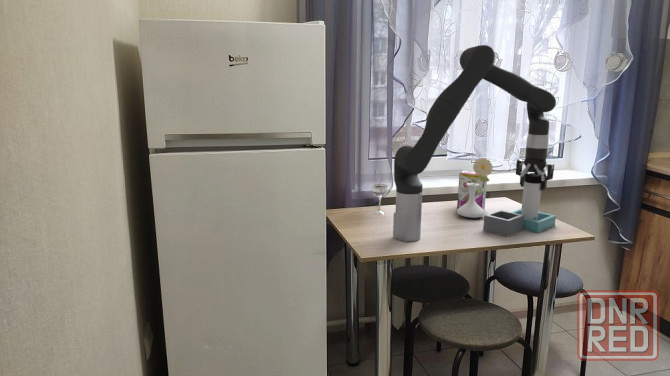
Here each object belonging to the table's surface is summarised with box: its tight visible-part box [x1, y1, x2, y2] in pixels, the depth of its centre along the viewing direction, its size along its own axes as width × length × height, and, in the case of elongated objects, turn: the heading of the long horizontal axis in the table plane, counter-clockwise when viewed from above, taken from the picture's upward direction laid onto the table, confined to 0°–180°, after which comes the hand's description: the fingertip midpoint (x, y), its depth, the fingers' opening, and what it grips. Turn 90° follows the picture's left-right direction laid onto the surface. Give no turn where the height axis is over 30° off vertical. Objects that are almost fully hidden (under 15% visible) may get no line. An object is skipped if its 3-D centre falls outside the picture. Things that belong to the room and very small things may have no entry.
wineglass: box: [371, 183, 389, 215], centre depth 199 cm, size 7×7×12 cm
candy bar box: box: [456, 170, 488, 211], centre depth 204 cm, size 11×5×16 cm, turn 58°
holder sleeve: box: [482, 209, 524, 237], centre depth 177 cm, size 11×10×6 cm
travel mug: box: [520, 172, 542, 221], centre depth 181 cm, size 6×7×20 cm
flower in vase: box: [456, 157, 494, 219], centre depth 192 cm, size 13×11×25 cm
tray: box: [511, 207, 557, 234], centre depth 184 cm, size 14×14×4 cm
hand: (532, 188), depth 181 cm, fingers open, 7 cm apart
